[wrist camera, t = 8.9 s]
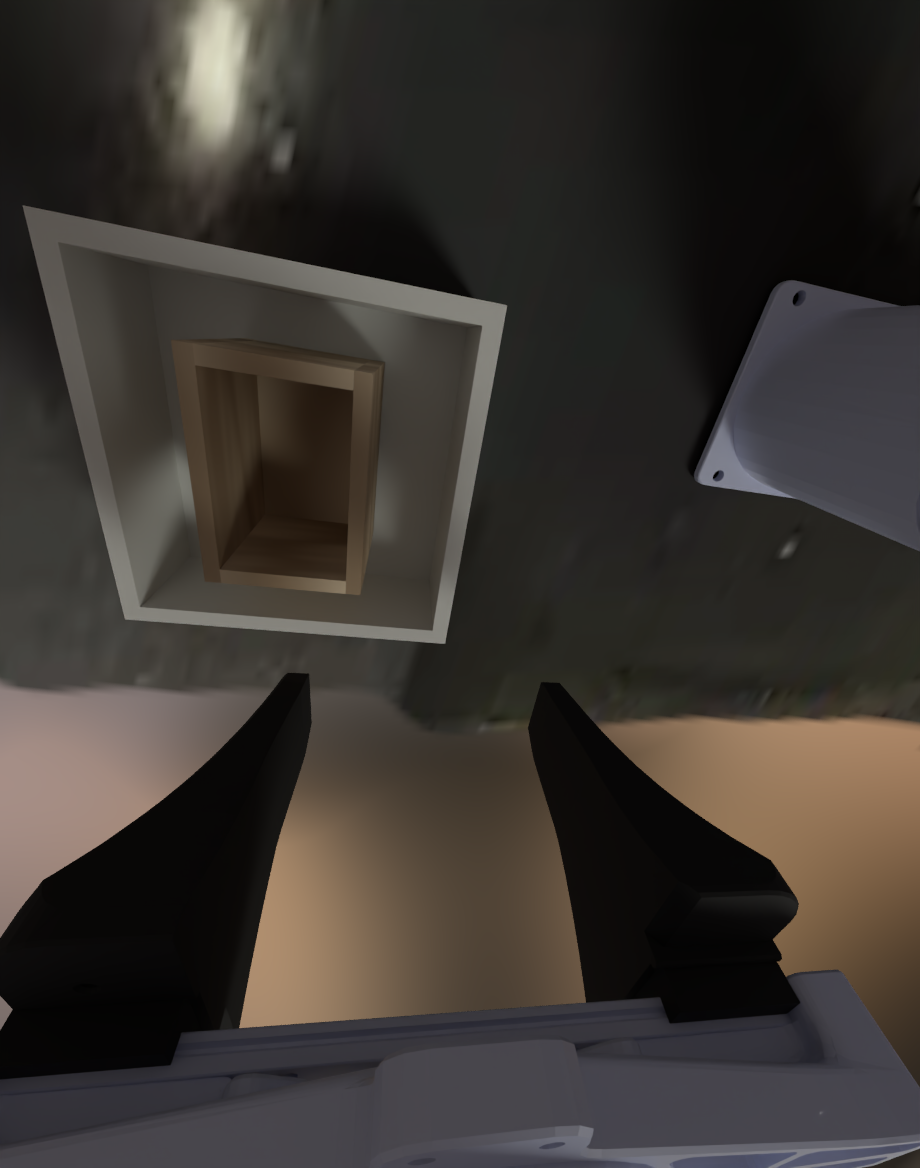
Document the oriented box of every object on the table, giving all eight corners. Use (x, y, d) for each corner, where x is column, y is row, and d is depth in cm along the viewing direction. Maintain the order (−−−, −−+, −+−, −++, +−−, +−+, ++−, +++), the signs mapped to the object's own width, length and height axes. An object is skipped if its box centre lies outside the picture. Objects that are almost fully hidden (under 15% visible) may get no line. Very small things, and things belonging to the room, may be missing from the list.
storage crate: (483, 313, 17) (507, 305, 12) (438, 584, 22) (445, 643, 18) (137, 243, 15) (22, 205, 10) (186, 559, 20) (125, 619, 16)
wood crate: (384, 362, 16) (372, 373, 12) (373, 532, 20) (360, 594, 15) (244, 338, 16) (170, 339, 11) (257, 519, 19) (204, 581, 14)
